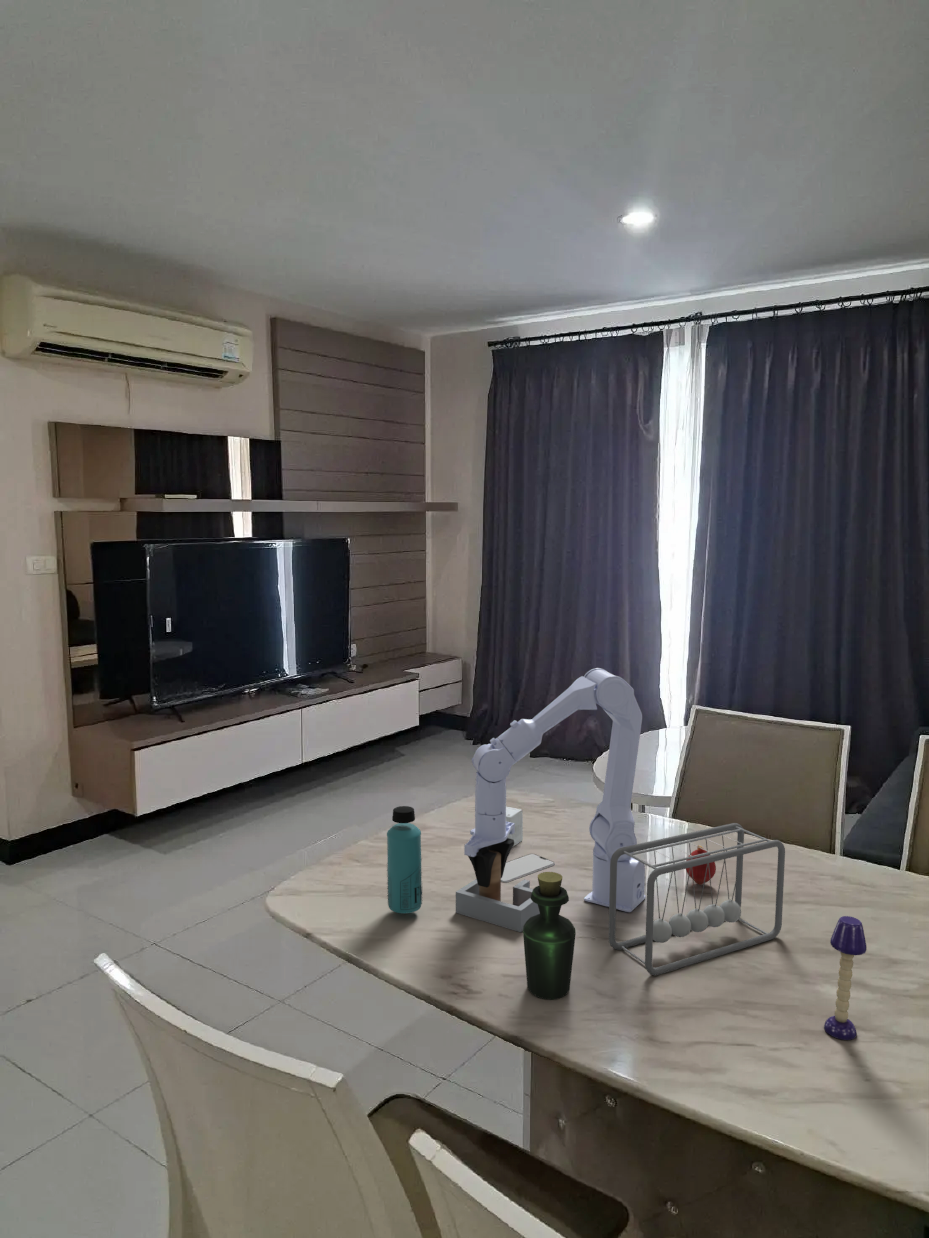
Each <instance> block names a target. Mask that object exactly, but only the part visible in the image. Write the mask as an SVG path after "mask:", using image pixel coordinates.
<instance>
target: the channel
mask: <svg viewBox="0 0 929 1238" xmlns="http://www.w3.org/2000/svg"><path fill="white" fill-rule="evenodd" d="M530 881H531V880H529V879H525V878H524V879H522V880H521V881H519V882H518V883H516V884H515V885H514V886H512V903H507V902H504V901H502V900H501V901H498V900H494V899H491V898H487V897H484V896H480V895H479V885H478V883H477V879H476V878H475V879H473V880H472V881H471V882H468V884H466V885H464V886H463V887H461V888H460V889H458V890H456V891H455V913H456V914H458V915H463V916H466V917H469V918H472V919H475V920H479V921H481V922H485V923H488V924H492V925H496V926H499V927H501V928H506V929H507V930H512V931H514V932H518V933H523V926H524V924H525V923H526V921H527V920H528V919H529V918H530V917H533V916H535V915H538V914H540V912H539V908H538V904H536V903H534V902H533V901H532V900H531V894H532V891H533V889H534V888H530V886H531V885H530V883H531V882H530Z"/></svg>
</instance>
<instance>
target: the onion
mask: <svg viewBox="0 0 929 1238" xmlns="http://www.w3.org/2000/svg"><path fill="white" fill-rule="evenodd" d="M697 846H698V847H697ZM697 846H696V848H697V849H695V850H693V851H692V852H691V856H694V855H698V854H703V853H707V851H706V850H707V849H705V850H703V849H704V847H703V846H702V845H699V844H698V845H697ZM699 847H700V848H699ZM701 848H703V849H701ZM705 856H707V855H705ZM705 856H701V857H705ZM708 856H709V855H708ZM687 857H690V854H689V855H688V856H687ZM701 857H697V858H701ZM693 859H696V858H693ZM688 860H691V859H688ZM688 860H685V861H688ZM706 868H707V864H703V865H698V866H694V867H692V869H691V870H690V868H686V869H685V871H686V873H687V875H689V870H690V875H689V878H691V879H692V870H693V879H692V881H693V880H694V883H695V884H697V885H699V886H701V885H702V886H703V883H704V878H705V873H706ZM709 868H710V878H711V880H712V879H713V878H714V876H715V875H716V872H717V865H716V861H715V862H711V863H709V867H708V868H707V873H706V878H705V883H704V884H706V883H708V882H710V878H709Z"/></svg>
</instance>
